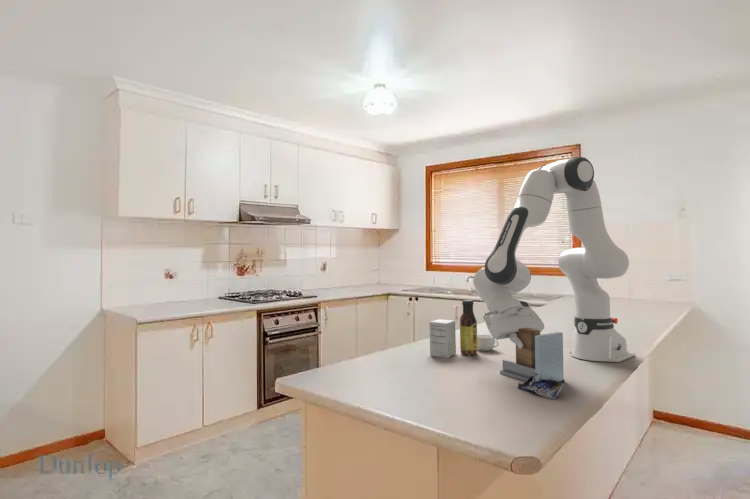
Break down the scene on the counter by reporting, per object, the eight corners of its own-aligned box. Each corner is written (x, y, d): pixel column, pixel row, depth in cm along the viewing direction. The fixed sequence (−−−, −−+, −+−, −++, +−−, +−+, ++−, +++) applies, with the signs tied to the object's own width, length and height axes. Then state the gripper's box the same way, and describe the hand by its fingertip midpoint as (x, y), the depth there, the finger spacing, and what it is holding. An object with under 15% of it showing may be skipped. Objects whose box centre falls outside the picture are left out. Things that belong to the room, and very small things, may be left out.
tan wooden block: (525, 362, 142) (524, 327, 142) (540, 366, 137) (540, 329, 137) (516, 364, 140) (515, 328, 140) (531, 368, 135) (530, 331, 135)
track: (522, 369, 147) (521, 325, 147) (563, 380, 133) (562, 332, 133) (499, 373, 142) (499, 328, 142) (539, 385, 128) (539, 336, 128)
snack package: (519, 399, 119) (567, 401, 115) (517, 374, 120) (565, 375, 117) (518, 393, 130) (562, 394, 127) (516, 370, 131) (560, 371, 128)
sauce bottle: (477, 356, 166) (476, 301, 166) (460, 355, 167) (459, 301, 167) (477, 352, 172) (476, 299, 172) (460, 351, 173) (459, 299, 173)
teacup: (470, 349, 176) (470, 335, 176) (482, 346, 182) (482, 333, 182) (492, 353, 169) (492, 339, 169) (504, 350, 174) (503, 336, 174)
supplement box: (438, 351, 174) (438, 318, 174) (456, 354, 169) (455, 320, 169) (429, 355, 168) (428, 321, 168) (447, 358, 163) (446, 323, 163)
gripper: (485, 306, 139) (510, 343, 131) (532, 302, 149) (558, 336, 141) (476, 319, 143) (499, 356, 135) (522, 314, 153) (546, 348, 145)
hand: (529, 346), depth 138 cm, fingers closed on tan wooden block, 4 cm apart
